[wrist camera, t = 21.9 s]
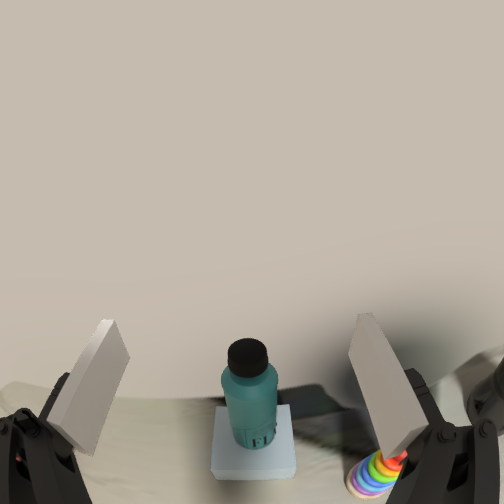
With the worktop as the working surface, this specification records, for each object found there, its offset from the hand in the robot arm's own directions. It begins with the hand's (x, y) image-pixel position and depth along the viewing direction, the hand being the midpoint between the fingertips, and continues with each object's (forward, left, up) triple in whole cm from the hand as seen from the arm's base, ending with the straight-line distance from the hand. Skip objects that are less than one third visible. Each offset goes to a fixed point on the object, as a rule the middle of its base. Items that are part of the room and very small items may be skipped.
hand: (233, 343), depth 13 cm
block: (+8, -5, -36) cm, 37 cm away
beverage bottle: (+8, -5, -30) cm, 32 cm away
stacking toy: (-9, -16, -36) cm, 40 cm away
